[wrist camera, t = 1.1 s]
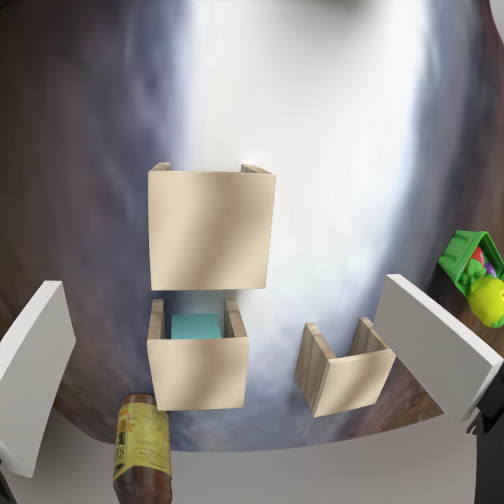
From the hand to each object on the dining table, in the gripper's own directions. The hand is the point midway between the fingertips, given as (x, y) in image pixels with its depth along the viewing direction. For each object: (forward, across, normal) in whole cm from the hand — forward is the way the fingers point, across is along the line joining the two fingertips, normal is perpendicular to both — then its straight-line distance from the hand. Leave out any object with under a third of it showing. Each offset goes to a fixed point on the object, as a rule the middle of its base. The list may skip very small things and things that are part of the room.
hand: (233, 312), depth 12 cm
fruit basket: (+17, +33, -6) cm, 38 cm away
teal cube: (+16, -1, -13) cm, 21 cm away
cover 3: (+16, +15, -16) cm, 28 cm away
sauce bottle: (+17, -8, -25) cm, 31 cm away
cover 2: (+16, -1, -13) cm, 21 cm away
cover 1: (+16, 0, 0) cm, 16 cm away
